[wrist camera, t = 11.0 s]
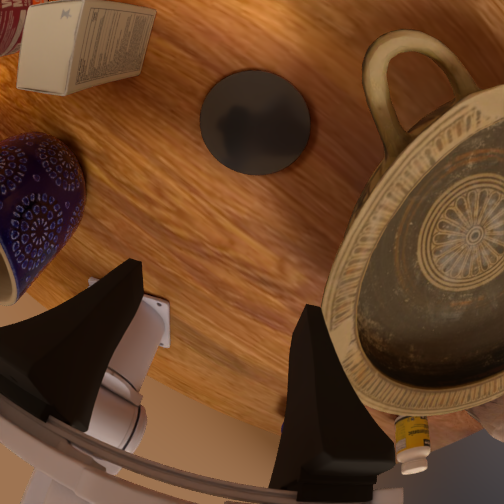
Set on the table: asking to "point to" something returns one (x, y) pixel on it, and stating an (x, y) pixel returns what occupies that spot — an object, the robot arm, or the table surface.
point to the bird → (490, 417)
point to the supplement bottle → (412, 443)
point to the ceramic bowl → (425, 249)
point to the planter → (35, 207)
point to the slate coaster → (255, 122)
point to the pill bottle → (13, 23)
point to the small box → (81, 44)
